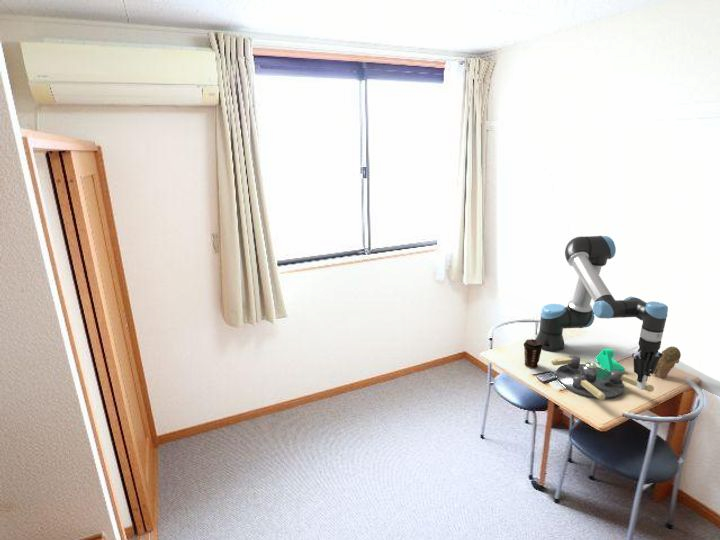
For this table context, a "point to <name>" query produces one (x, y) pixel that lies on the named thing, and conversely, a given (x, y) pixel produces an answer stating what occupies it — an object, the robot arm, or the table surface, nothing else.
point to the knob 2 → (626, 380)
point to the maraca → (568, 361)
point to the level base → (601, 385)
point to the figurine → (667, 361)
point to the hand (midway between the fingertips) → (640, 388)
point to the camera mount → (608, 361)
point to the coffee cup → (532, 353)
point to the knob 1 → (587, 386)
